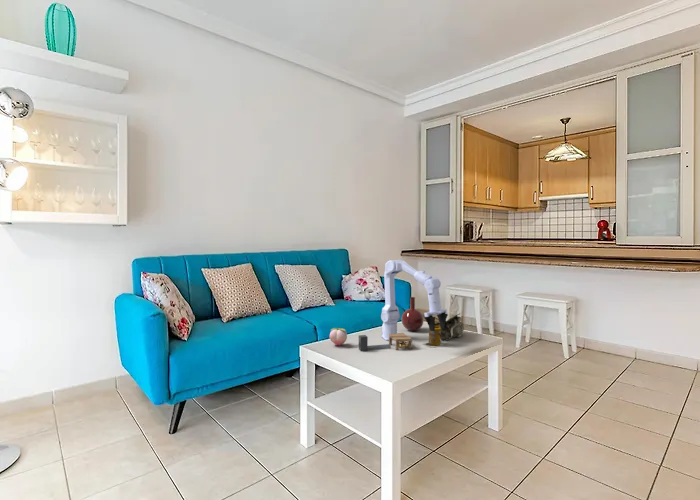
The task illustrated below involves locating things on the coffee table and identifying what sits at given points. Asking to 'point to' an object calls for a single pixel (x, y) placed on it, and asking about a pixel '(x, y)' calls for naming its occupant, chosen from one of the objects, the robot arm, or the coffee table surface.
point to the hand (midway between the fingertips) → (437, 329)
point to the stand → (400, 339)
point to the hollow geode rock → (452, 328)
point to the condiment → (435, 336)
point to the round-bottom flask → (412, 317)
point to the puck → (403, 344)
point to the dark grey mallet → (364, 345)
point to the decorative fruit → (338, 336)
